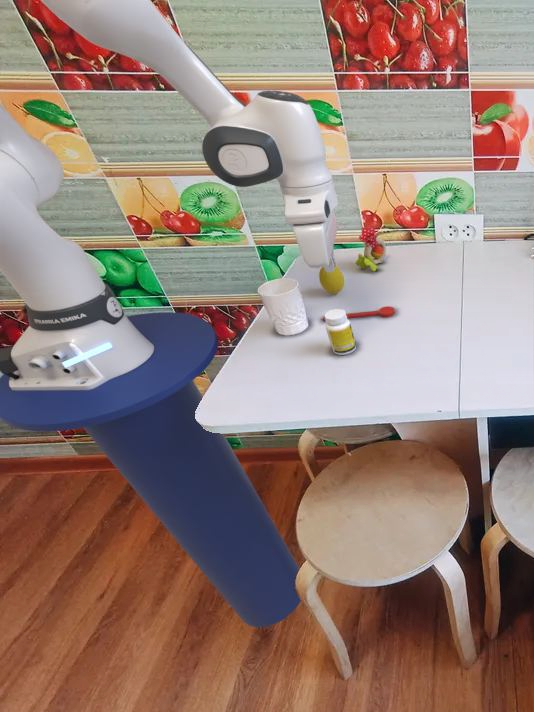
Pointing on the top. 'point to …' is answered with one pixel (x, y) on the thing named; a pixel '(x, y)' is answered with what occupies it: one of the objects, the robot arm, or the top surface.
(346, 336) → the supplement bottle
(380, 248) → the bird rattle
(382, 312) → the spoon
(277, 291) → the white cup
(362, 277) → the top surface
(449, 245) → the top surface
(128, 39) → the robot arm
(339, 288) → the lemon
